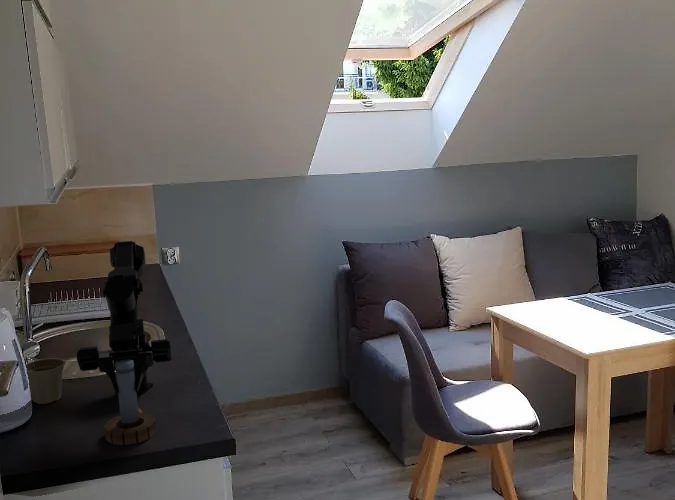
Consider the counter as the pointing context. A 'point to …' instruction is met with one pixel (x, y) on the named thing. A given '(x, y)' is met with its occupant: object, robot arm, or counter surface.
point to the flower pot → (45, 379)
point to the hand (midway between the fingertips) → (126, 392)
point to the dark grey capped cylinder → (127, 391)
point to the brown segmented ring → (130, 430)
